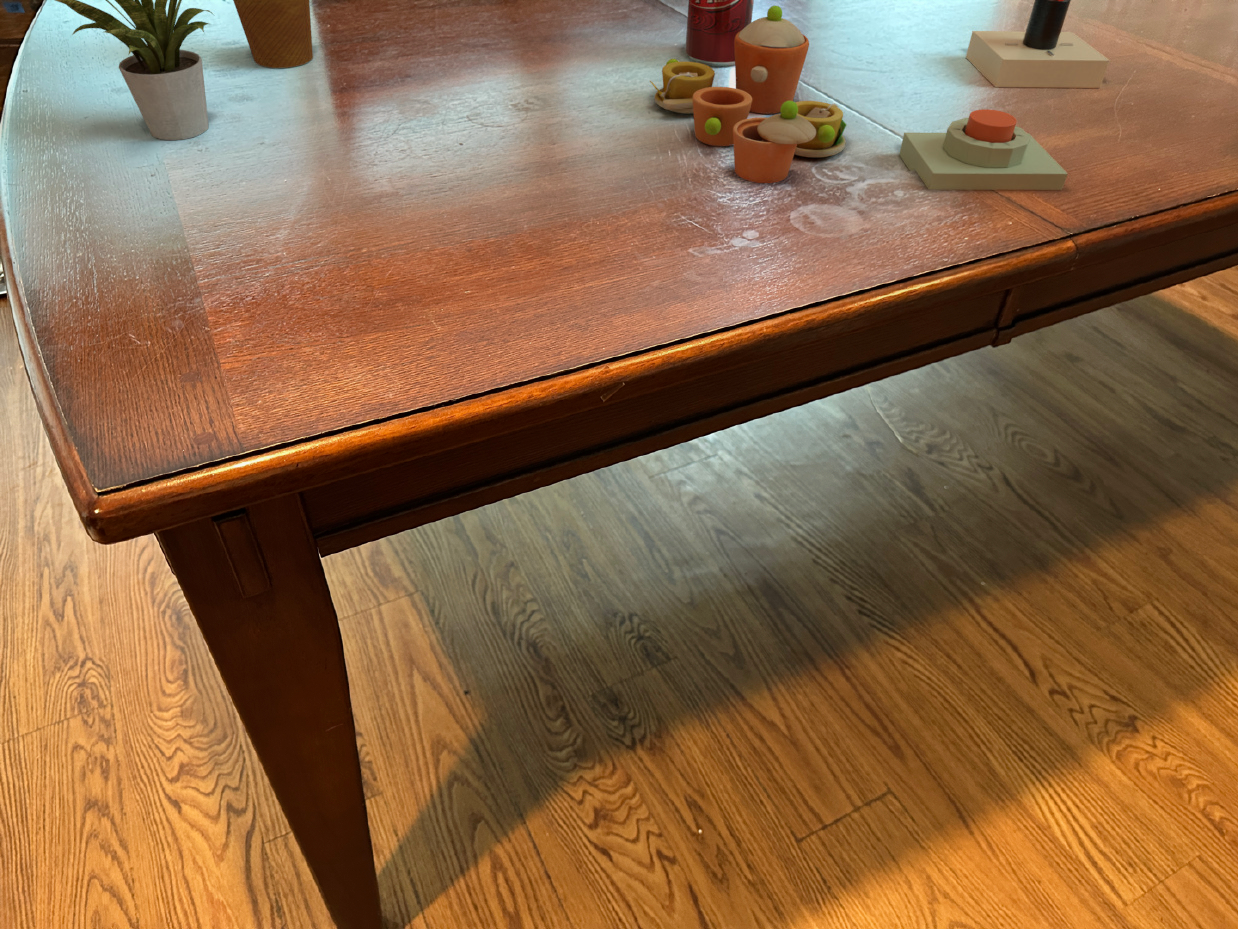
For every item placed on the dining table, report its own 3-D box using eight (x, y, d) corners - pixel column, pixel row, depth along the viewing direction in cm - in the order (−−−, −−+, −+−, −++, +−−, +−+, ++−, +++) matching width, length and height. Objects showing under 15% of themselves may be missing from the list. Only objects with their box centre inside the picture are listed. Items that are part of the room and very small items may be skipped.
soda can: (713, 43, 112) (722, -70, 104) (760, 58, 108) (773, -57, 101) (671, 56, 108) (678, -60, 100) (719, 72, 104) (730, -47, 97)
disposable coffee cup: (222, 58, 104) (192, -63, 96) (295, 39, 109) (272, -77, 101) (271, 79, 99) (245, -46, 91) (345, 59, 105) (325, -61, 97)
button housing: (1021, 155, 89) (1035, 113, 86) (1059, 197, 82) (1075, 153, 80) (898, 154, 88) (908, 112, 86) (926, 196, 82) (938, 152, 79)
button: (1001, 128, 85) (1007, 109, 84) (1017, 146, 82) (1023, 126, 81) (958, 128, 84) (963, 108, 83) (973, 145, 81) (978, 126, 80)
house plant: (205, 87, 97) (158, -92, 86) (294, 119, 91) (255, -69, 81) (77, 128, 88) (6, -66, 78) (166, 166, 82) (103, -38, 72)
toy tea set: (639, 94, 99) (642, -4, 92) (773, 83, 102) (785, -13, 96) (733, 201, 80) (745, 87, 74) (892, 182, 84) (918, 72, 77)
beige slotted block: (1063, 58, 111) (1072, 30, 109) (1100, 87, 104) (1110, 58, 102) (965, 57, 111) (972, 29, 109) (995, 87, 103) (1003, 57, 101)
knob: (1017, 39, 106) (1032, -12, 103) (1047, 39, 107) (1063, -12, 103) (1030, 49, 104) (1046, -2, 100) (1061, 49, 104) (1078, -2, 101)
